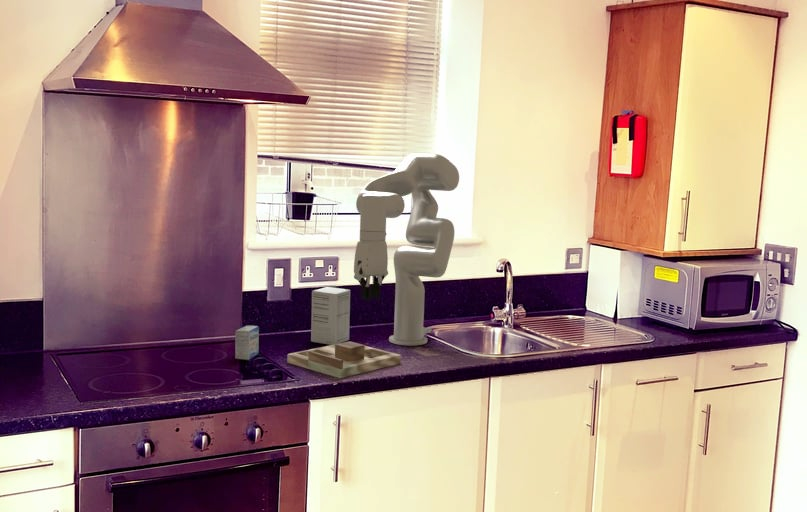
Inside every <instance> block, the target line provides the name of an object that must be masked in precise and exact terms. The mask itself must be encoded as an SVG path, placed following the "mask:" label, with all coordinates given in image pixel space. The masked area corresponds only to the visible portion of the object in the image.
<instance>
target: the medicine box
mask: <svg viewBox="0 0 807 512" xmlns="http://www.w3.org/2000/svg"><path fill="white" fill-rule="evenodd" d="M259 332H260V327H259V326H258V325H245V326H242V327H240V328H239V329H236V330H235V333H234V334H235V336H234V337H235V341H234V342H235V343H234V344H235V345H234V346H235V347H234V348H235V349H234V351H235V353H234V354H235V356H234V357H235V359H236V360H245V361H250V360H251V359H253V358H254V357H256V356H257V355H259V342H260V341H259V340H260V339H259V335H260V333H259Z"/></svg>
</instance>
